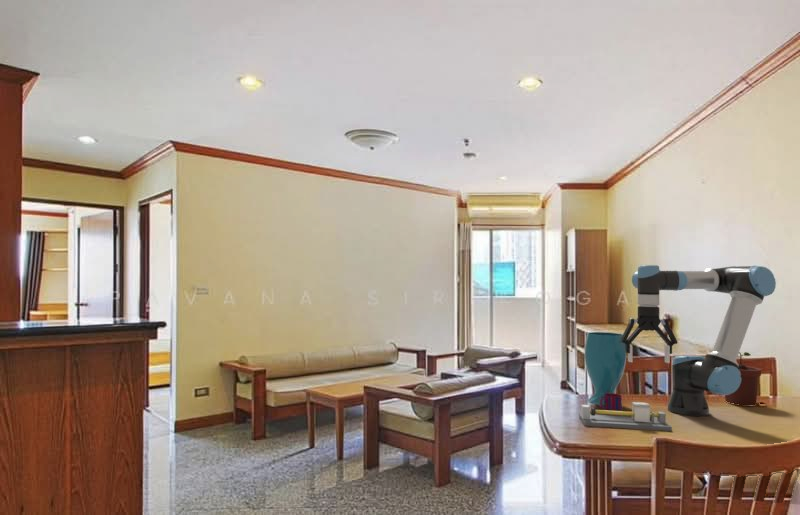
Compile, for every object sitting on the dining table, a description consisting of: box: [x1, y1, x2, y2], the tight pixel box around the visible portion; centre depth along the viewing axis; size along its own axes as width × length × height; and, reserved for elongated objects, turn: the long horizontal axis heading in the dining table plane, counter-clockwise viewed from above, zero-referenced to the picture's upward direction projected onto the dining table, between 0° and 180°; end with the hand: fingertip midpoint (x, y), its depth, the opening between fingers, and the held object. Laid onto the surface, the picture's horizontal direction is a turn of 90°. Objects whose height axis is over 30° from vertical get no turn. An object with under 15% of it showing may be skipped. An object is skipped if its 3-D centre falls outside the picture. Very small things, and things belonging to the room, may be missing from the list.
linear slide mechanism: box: [578, 404, 673, 432], centre depth 203 cm, size 30×12×6 cm, turn 81°
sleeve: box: [631, 401, 651, 422], centre depth 202 cm, size 5×5×6 cm
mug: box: [599, 393, 622, 411], centre depth 222 cm, size 7×10×7 cm
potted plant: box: [724, 351, 766, 405], centre depth 245 cm, size 18×22×25 cm
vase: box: [584, 331, 627, 406], centre depth 240 cm, size 17×17×30 cm
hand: (648, 362), depth 205 cm, fingers open, 13 cm apart
